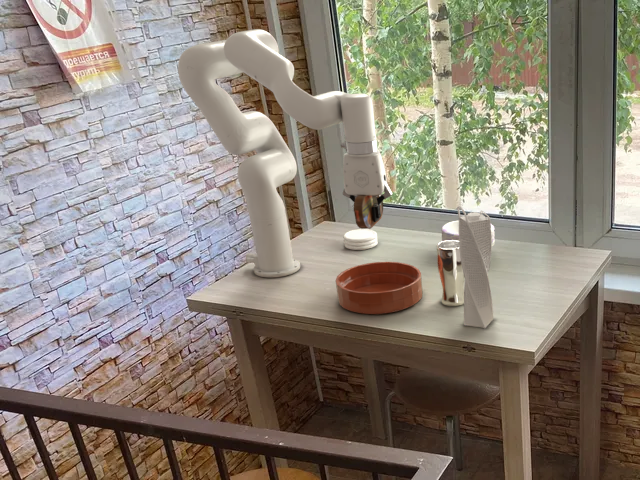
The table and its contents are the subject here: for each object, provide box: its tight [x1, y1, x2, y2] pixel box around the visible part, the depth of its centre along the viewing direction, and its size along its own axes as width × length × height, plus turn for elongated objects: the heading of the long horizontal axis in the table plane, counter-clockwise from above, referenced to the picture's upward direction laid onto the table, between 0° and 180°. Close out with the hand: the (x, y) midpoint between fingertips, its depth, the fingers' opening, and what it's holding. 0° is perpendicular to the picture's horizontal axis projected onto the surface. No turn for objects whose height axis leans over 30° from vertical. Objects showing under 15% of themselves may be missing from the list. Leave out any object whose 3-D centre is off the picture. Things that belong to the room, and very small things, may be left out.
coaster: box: [343, 228, 379, 251], centre depth 237 cm, size 10×10×4 cm
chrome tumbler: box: [436, 240, 465, 307], centre depth 195 cm, size 7×7×15 cm
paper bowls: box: [440, 219, 496, 247], centre depth 228 cm, size 15×15×8 cm
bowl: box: [335, 261, 424, 315], centre depth 200 cm, size 21×21×6 cm
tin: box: [353, 194, 384, 230], centre depth 201 cm, size 15×3×8 cm, turn 170°
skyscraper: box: [456, 205, 495, 329], centre depth 181 cm, size 8×8×28 cm
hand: (370, 219), depth 203 cm, fingers closed on tin, 2 cm apart
